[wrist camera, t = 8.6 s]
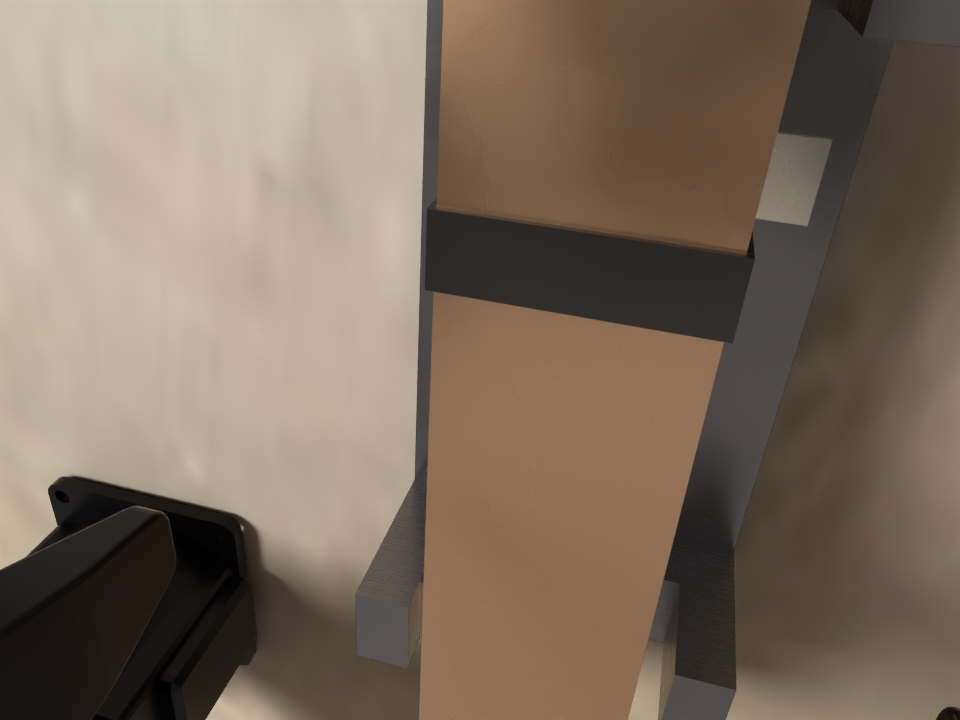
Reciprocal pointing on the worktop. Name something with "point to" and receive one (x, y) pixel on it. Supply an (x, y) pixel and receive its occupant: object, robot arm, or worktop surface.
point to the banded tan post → (580, 326)
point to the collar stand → (742, 366)
